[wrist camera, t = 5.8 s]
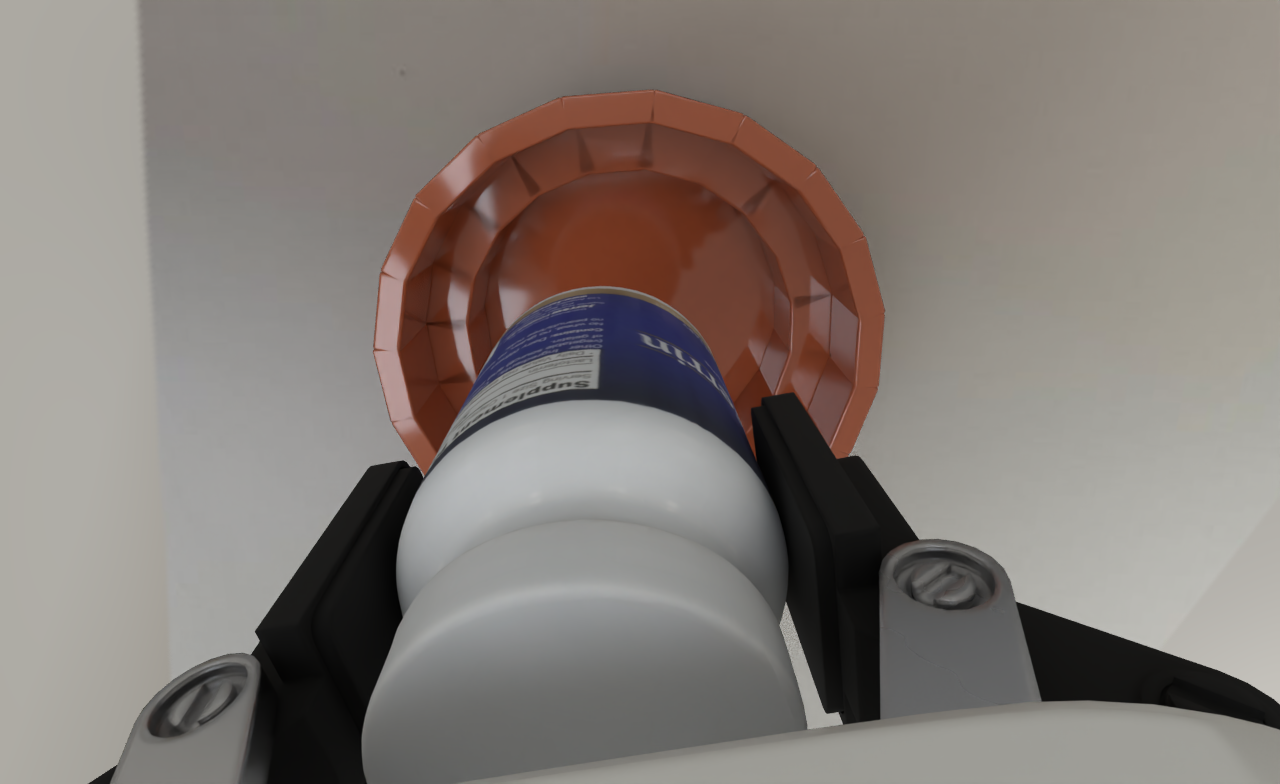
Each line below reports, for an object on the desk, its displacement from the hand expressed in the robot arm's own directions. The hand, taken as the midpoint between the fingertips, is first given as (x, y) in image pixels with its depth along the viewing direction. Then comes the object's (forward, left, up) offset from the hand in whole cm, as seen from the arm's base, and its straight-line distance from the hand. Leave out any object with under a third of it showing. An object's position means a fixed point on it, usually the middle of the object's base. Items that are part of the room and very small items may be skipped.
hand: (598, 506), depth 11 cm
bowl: (0, 0, -12) cm, 12 cm away
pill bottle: (0, 0, -5) cm, 5 cm away
